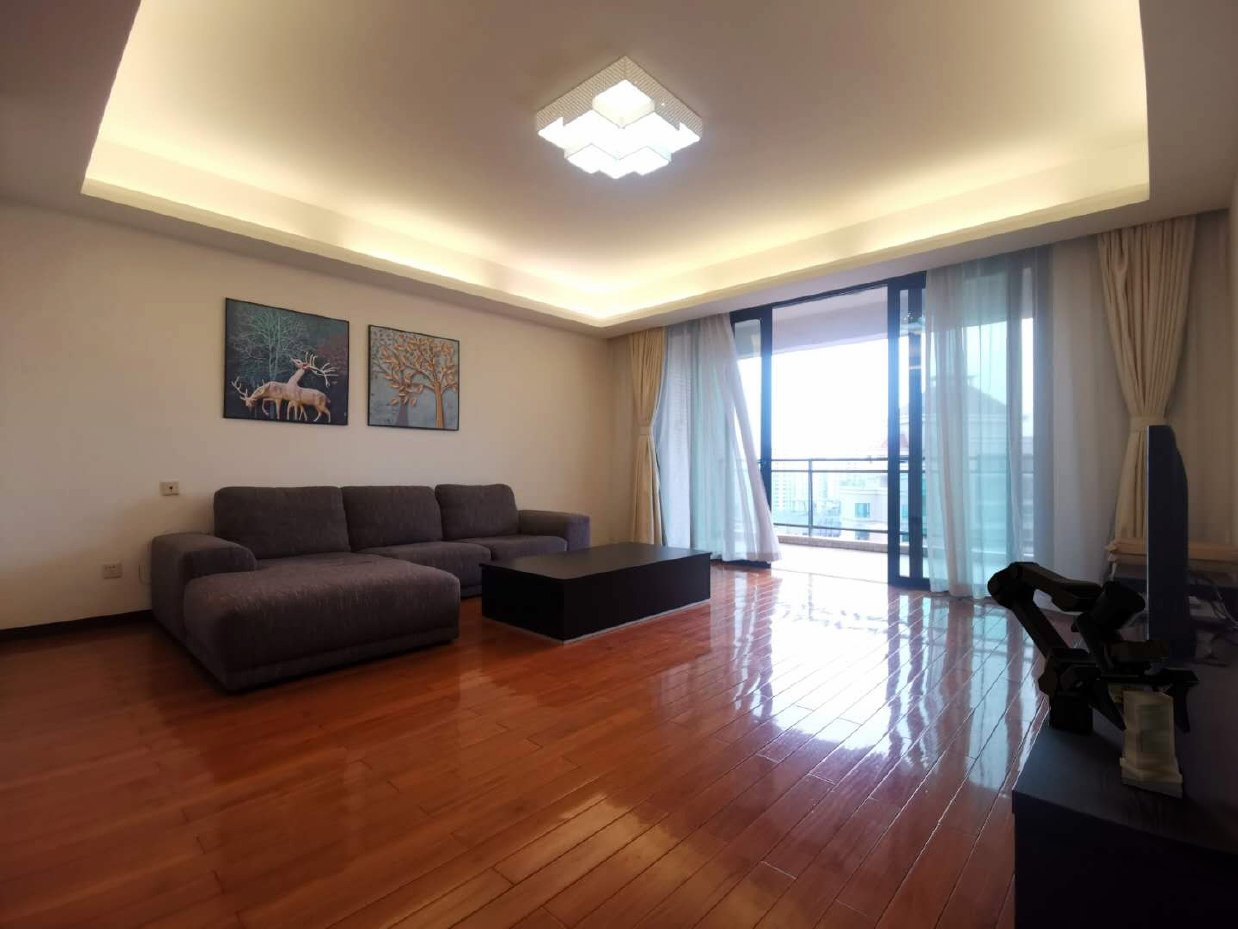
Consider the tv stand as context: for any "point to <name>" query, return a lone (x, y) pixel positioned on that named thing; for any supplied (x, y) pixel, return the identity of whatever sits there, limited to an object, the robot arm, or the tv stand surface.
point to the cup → (1118, 691)
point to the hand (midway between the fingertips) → (1155, 731)
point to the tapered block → (1149, 736)
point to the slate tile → (1160, 786)
